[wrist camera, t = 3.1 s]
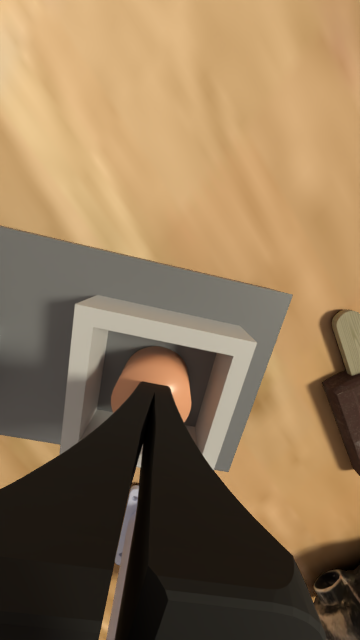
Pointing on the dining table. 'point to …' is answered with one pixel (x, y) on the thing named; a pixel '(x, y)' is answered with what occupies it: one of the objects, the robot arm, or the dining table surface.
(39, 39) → the dining table surface
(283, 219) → the dining table surface
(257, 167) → the dining table surface
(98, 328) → the grey board with tray
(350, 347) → the ice cream bar
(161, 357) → the button
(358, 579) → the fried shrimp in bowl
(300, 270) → the dining table surface
